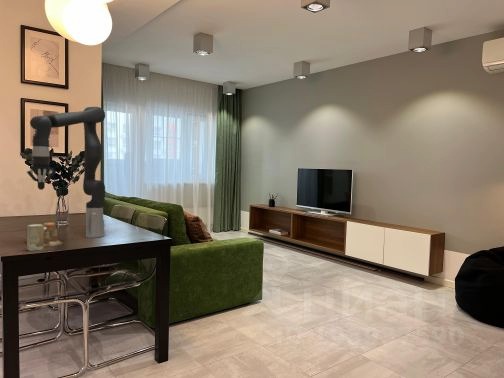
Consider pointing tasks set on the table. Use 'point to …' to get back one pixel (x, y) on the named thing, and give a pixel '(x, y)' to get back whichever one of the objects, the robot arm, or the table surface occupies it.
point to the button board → (50, 238)
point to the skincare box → (35, 237)
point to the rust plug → (49, 226)
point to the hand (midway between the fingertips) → (41, 189)
